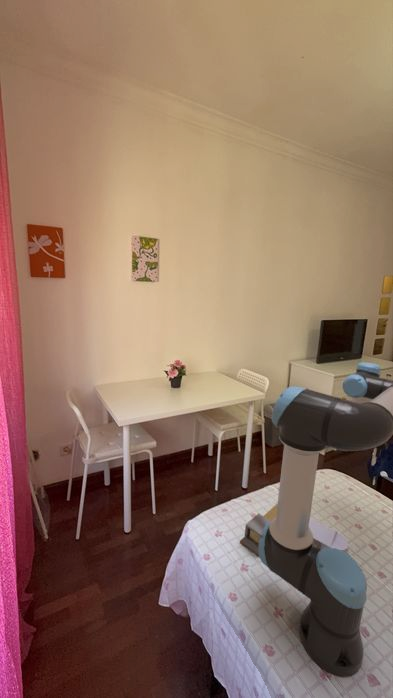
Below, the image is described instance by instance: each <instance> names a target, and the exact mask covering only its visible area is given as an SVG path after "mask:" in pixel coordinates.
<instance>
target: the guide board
mask: <svg viewBox="0 0 393 698" xmlns="http://www.w3.org/2000/svg"><path fill="white" fill-rule="evenodd" d="M268 522H270V520H268V519H267V518H265V517H264V515H262V514H260V513H257V514H255V516H254V517H253V518H251V519H250V520H249V521H248V522H247V523H246V524H245V527H244V528H245V529H244V537H242V538H241V539H240V540H239V544H240V545H242V546H244V547H245V548H246V549H248V550H249V551H251V552H252V553H253V554H255V556H257V557H258V558H260V557H259V551H258V547H259V543H257V542H255V541H254V540H252V539H251V538H250V537H249V535H250V529H251V530H252V531H253V532H255V533H256V534H258V535H259V540H260V538H261V536H262V535H261V533H262V531H263V529H264V527H265V526H266V524H267V523H268Z"/></svg>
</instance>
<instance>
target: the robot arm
mask: <svg viewBox="0 0 393 698" xmlns="http://www.w3.org/2000/svg"><path fill="white" fill-rule="evenodd" d="M381 370H382V369H381V366H380V365H378V364H377V363H373V362H364V361H362V362H359V363H357V365H356V369H355V371H356V372H354V373H352V374H349V375H348V376H346V377H345V379H344V380H343V382H342V390H343V392H344V394H345V395H346V396H348V397H350V398H351V400H348V399H345V398H341V397H337V396H333V395H330V394H327V393H323V392H319V391H315V390H312V389H310V388H308V387H305V388H304V387H300V386H293V385H292V386H289V387H286V388H285V390H283V391H282V392H281V393H280V395H279V396H278V397H277V399H276V401H275V403H274V406H273V409H272V413H271V422H272V424H273V426H275V427H276V428H278V429H279V432H278V433H279V434H278V435H279V436H278V439H279V441H280V442H281V443H282V444H283V453H282V462H281V463H282V464H281V470H280V472H281V473H280V480H279V486H278V487H279V489H278V497H277V503H278V504H277V503H276V504H277V513H276V517H275V518H274V519H272V520H271V521H270V522H268V523H267V524H266V526H265V527H264V529H263V531H262V533H261V535H262V536H261V538H260V540H259V547H258V551H259V557H258V558H259V559H260V561H261V563H262V564H263V565H265V567H267V568H268V569H269V571H270V572H272V573H274V574H275V575H277V576H278V577H279V578H280V579H282V580H284V581H285V582H286V583H287V584H289V585H290V586H291V587H293V588H294V589H296V590H297V591H299V593H301V594H302V595H303V596H305V597H307V598H308V599H309V600H310V602H309V603H308V604H307V606H306V608H304V610H303V611H302V614H301V616H300V618H299V619H300V621H299V625H298V627H299V629H298V632H299V638H300V641H301V644H302V646H303V647H304V650H305V651H306V653H307V655H308V656H309V657H310V658H311V660H312V661H313V662H315V664H316V665H317V666H318V667H320V668H321V669H322V670H324V671H326V672H328V673H329V674H331V675H334V676H338V677H349V676H352V675H354V674H356V673H357V672H359V670H360V668H361V666H362V662H363V658H364V643H363V638H362V635H361V630H360V628H361V621H362V619H363V618H362V617H363V612H364V608H365V604H367V603H366V602H367V590H368V583H367V578H366V575H365V573H364V572H363V569H362V567H361V566H360V565H359V563H358V562H357V561H356V560H355V559H354V558H353V557H352V556H350V555H349V554H348V553H347V554H346V553H345V552H343V551H341V550H339V549H336V548H334V549H332V548H330V547H327V548H323V549H321V547H320V548H319V547H318V546H316V545H315V544H314V538H313V534H312V531H311V530H310V528H309V525H310V521H311V512H312V504H313V499H314V498H313V497H314V492H315V484H316V483H315V482H316V476H317V469H318V462H319V454H320V453H321V452H323V451H325V450H326V449H327V447H328V448H332V449H333V451H343V452H356V451H367V450H370V449H373V453H372V457H371V458H372V459H371V464H370V465H371V466H372V467H373V466H375V464H376V462H377V458H378V459H379V458H380V456H381V454H382V453H381V452H382V450H383V451H387V449H388V448H389V444H388V441H389V440H390V439H391V438H392V437H393V380H391V379H387V378H382V377H380V376H381Z"/></svg>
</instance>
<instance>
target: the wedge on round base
mask: <svg viewBox="0 0 393 698" xmlns="http://www.w3.org/2000/svg"><path fill="white" fill-rule="evenodd" d="M309 528H310V530H311V531H312V534H313V540H316V541H318V542H319V547H320V549H323V548H327V547H330V548H332V549H334V548H336V549H339V550H341V551H343V552H345V553H346V554H348V549H349V542H348V539H347V538H346V536H344V535H343V534H342V533H340V532H338V531H337V530H335V529H333V528H331V527H329V526H326V525H325V524H323V523H321V522H319V521H317V520H315V519H312V518H310V521H309Z"/></svg>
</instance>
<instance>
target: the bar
mask: <svg viewBox="0 0 393 698" xmlns="http://www.w3.org/2000/svg"><path fill="white" fill-rule="evenodd" d="M277 504H278V502H277V503H276V504H275V505H274V506H273V507H272V508H270V509H269V511H267V512H266V513H265V514H264V515H263V516H264V517H265V518H267V519H268V520H270V521H271V520H272V519H274V518H275V517H276V513H277ZM249 537H250V538H251V539H252V540H254V541H255V542H257V543H259V535H258V534H256V533H255V532H253V531H252V530H251V529H250V535H249Z"/></svg>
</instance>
